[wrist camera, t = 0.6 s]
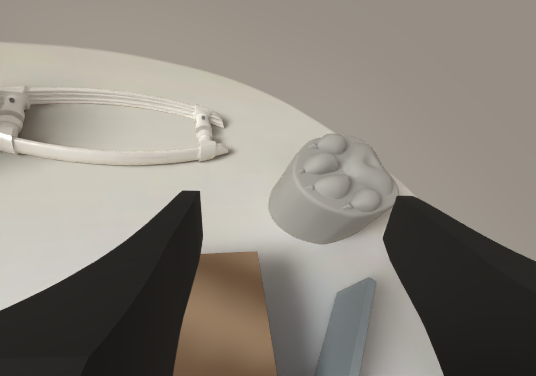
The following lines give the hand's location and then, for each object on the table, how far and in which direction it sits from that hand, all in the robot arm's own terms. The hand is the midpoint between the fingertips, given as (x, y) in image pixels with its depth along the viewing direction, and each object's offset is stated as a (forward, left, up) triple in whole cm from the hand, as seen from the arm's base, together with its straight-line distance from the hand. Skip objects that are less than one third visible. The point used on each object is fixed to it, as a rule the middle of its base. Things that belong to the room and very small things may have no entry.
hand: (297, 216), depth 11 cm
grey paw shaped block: (+12, -15, -20) cm, 27 cm away
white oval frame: (+21, +8, -20) cm, 30 cm away
